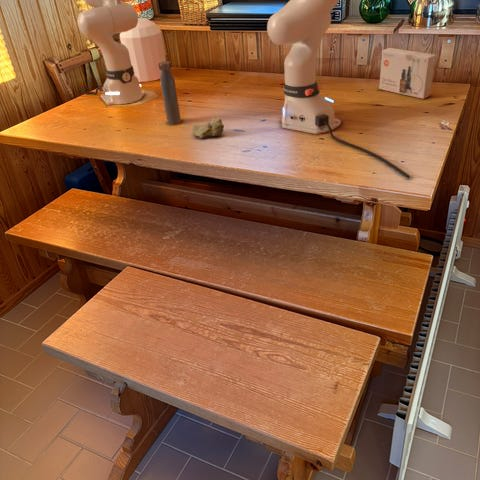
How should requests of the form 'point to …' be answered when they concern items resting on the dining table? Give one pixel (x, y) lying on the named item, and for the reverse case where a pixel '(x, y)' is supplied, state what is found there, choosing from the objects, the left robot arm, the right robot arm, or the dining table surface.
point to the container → (145, 49)
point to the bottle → (170, 97)
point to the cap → (164, 65)
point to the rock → (209, 128)
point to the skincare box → (407, 72)
